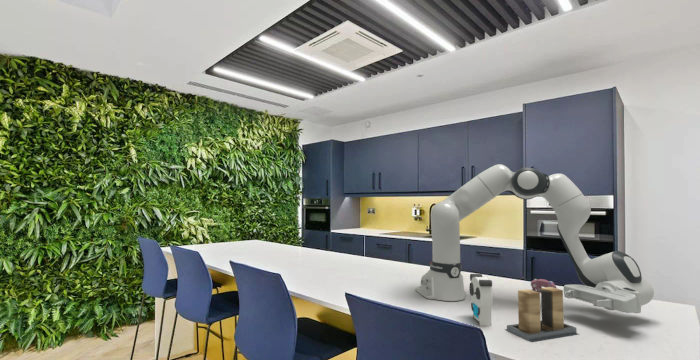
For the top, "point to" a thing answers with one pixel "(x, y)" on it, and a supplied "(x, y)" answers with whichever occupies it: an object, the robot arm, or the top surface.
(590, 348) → the top surface
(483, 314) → the panda figurine
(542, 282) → the video game controller
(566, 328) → the dark grey tray
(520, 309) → the block
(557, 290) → the oak finger
